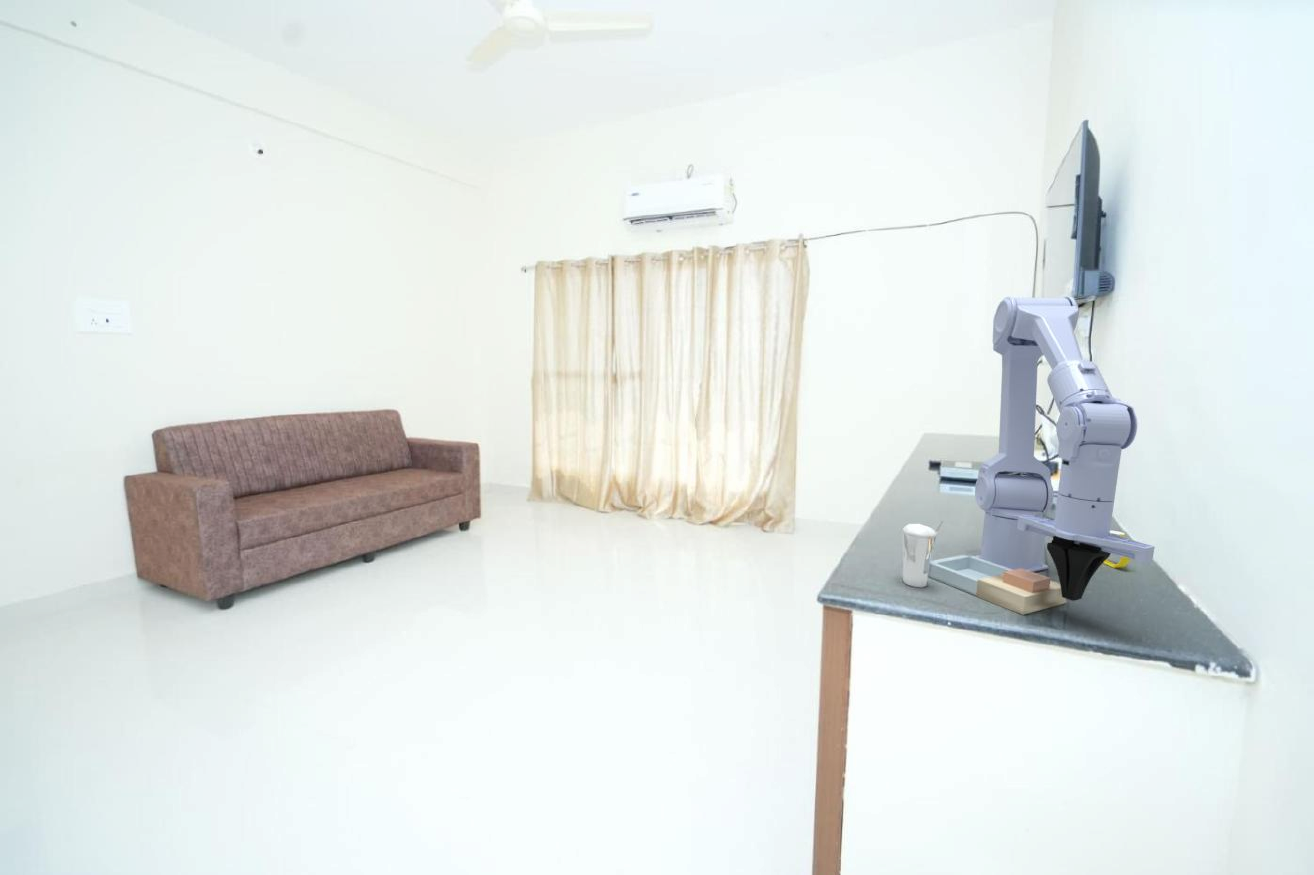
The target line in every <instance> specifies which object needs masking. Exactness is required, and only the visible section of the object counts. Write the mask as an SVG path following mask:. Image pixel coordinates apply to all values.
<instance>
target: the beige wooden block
mask: <svg viewBox="0 0 1314 875" xmlns="http://www.w3.org/2000/svg"><path fill="white" fill-rule="evenodd" d="M1003 576H1004V574H1001V575H996V576H992V577H987V578H982V579H978V583H977V592H976V596H975V597H978V598H980V599H983V600H985V601H987V602H990V603H992V604H994V605H997V606H1000V607H1002V608H1005V609H1007V610H1010V611H1012V612H1014V613H1017V614H1020V615H1022V616H1025V615H1027V614H1031V613H1034V612H1039V611H1042V610H1046V609H1049V608H1053V607H1056V606H1060V605H1063V604H1066V602H1067V599H1066V598H1063V597H1062V592H1061V586H1060V582H1057V581H1054V580H1051V581H1050V588H1049V589H1045V590H1041V591H1037V592H1033V593H1031V592H1029V591H1026V590H1023V589H1020V588H1018V587H1015V586H1012V585H1009V584H1007V583H1004V582H1003Z"/></svg>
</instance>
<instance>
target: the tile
mask: <svg viewBox="0 0 1314 875" xmlns="http://www.w3.org/2000/svg"><path fill="white" fill-rule="evenodd" d="M1050 581H1052V578H1051V577H1048V576H1046V575H1043V574H1039V573H1037V572H1035V571H1034V572H1031V571H1028V570H1025V569H1022V568H1020V569H1015V570H1011V571H1006V572H1004V576H1003V582H1004V583H1007V584H1009V585H1012V586H1015V587H1018V588H1020V589H1023V590H1026V591H1029V592H1031V593H1033V592H1037V591H1041V590H1045V589H1049V588H1050Z"/></svg>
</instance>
